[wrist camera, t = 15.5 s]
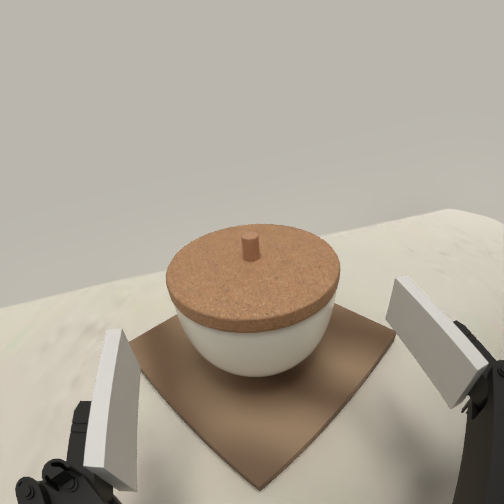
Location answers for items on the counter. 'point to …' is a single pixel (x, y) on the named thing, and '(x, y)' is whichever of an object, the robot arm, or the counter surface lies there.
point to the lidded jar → (255, 296)
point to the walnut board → (262, 392)
